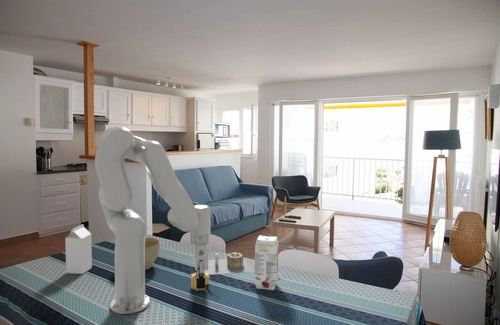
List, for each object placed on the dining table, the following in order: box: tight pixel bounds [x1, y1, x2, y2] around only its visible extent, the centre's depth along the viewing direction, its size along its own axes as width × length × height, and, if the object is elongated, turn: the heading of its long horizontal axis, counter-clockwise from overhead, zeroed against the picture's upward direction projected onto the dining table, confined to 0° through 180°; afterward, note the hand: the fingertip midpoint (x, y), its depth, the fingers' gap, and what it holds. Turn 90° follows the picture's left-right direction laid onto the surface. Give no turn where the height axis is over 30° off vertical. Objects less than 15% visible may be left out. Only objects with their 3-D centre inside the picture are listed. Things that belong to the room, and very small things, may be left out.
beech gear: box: [226, 252, 244, 268], centre depth 147 cm, size 7×7×4 cm
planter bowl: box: [145, 236, 161, 271], centre depth 147 cm, size 16×16×11 cm
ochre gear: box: [190, 271, 210, 292], centre depth 129 cm, size 7×7×4 cm
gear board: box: [205, 252, 253, 276], centre depth 146 cm, size 16×20×7 cm
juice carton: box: [254, 234, 279, 291], centre depth 129 cm, size 8×9×19 cm
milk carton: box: [64, 224, 93, 275], centre depth 141 cm, size 7×7×19 cm
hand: (200, 283), depth 129 cm, fingers closed on ochre gear, 6 cm apart
